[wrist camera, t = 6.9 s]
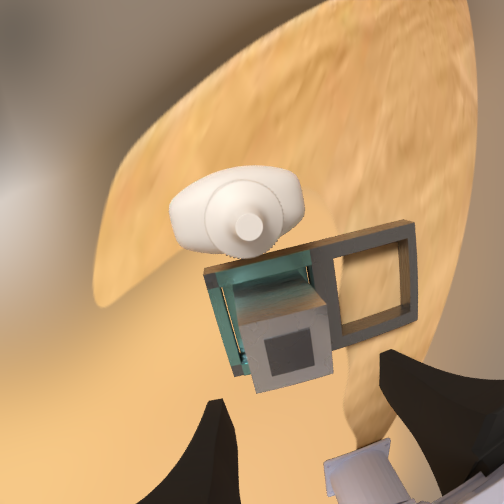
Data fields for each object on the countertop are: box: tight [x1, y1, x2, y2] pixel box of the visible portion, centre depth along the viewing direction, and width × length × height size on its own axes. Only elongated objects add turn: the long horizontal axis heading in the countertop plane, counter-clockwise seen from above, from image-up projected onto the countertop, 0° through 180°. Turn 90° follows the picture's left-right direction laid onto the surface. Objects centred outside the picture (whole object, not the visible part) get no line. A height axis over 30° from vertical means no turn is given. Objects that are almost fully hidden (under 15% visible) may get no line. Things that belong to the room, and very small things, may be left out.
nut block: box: [233, 270, 333, 394], centre depth 18 cm, size 4×4×6 cm
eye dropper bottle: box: [169, 165, 305, 259], centre depth 13 cm, size 4×6×12 cm
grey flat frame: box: [203, 219, 418, 377], centre depth 21 cm, size 8×15×2 cm, turn 103°
